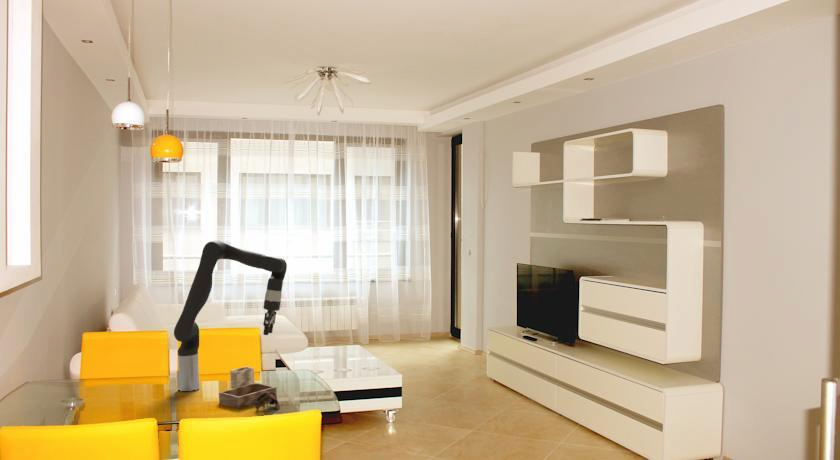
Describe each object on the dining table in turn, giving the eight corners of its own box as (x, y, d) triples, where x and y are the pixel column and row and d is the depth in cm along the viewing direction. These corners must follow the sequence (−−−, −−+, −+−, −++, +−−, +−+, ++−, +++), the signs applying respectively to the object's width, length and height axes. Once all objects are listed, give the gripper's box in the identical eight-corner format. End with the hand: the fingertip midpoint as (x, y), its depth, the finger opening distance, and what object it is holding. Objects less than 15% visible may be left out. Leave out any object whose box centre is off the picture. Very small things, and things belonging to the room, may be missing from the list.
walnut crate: (239, 408, 278) (239, 397, 278) (219, 403, 287) (218, 392, 287) (276, 397, 293) (276, 386, 293) (256, 393, 303) (256, 382, 303)
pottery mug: (278, 413, 271) (267, 397, 270) (259, 422, 273) (249, 407, 271) (285, 398, 283) (275, 383, 281) (268, 407, 285) (257, 392, 283)
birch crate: (238, 395, 300) (237, 371, 300) (231, 393, 304) (230, 370, 304) (254, 391, 307) (253, 368, 307) (247, 389, 311) (246, 366, 311)
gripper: (268, 298, 314) (263, 331, 313) (261, 299, 300) (256, 334, 299) (283, 300, 314) (278, 333, 313) (277, 301, 300) (272, 336, 299)
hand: (267, 333), depth 306 cm, fingers open, 8 cm apart
